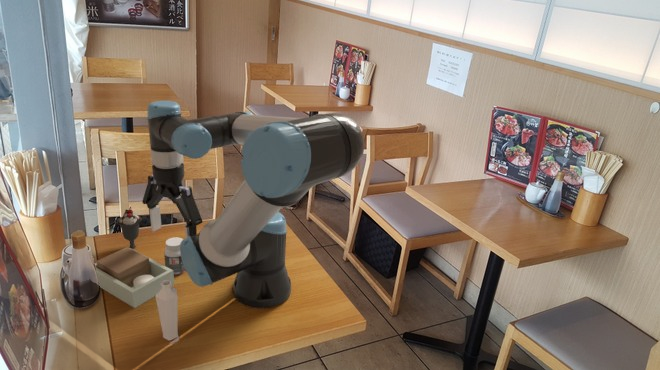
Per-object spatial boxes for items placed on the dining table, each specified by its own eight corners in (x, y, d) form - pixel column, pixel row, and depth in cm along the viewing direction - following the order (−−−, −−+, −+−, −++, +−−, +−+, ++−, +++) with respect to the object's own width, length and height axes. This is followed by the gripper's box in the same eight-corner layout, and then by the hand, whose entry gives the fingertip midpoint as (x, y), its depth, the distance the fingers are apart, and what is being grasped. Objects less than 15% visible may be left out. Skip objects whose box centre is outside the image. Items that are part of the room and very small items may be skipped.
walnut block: (150, 277, 124) (148, 258, 122) (120, 293, 117) (118, 273, 115) (129, 265, 128) (127, 246, 126) (99, 280, 121) (96, 261, 119)
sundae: (136, 257, 134) (131, 211, 128) (116, 254, 135) (109, 207, 129) (149, 246, 140) (144, 201, 134) (129, 242, 141) (123, 198, 135)
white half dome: (159, 289, 120) (158, 279, 118) (143, 298, 116) (141, 288, 115) (147, 282, 122) (145, 272, 121) (130, 291, 118) (129, 281, 117)
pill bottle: (187, 277, 127) (184, 246, 123) (165, 279, 125) (162, 247, 121) (188, 266, 132) (185, 235, 128) (166, 267, 130) (164, 237, 126)
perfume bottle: (175, 328, 108) (171, 274, 102) (184, 338, 105) (180, 283, 99) (156, 336, 105) (150, 281, 99) (165, 347, 102) (159, 291, 96)
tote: (174, 287, 122) (173, 270, 120) (135, 311, 113) (132, 292, 110) (131, 264, 131) (129, 247, 128) (91, 284, 121) (88, 266, 119)
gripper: (215, 172, 113) (217, 247, 121) (148, 148, 125) (154, 217, 133) (191, 181, 107) (195, 259, 115) (123, 155, 119) (131, 227, 127)
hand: (173, 237), depth 124 cm, fingers open, 13 cm apart
